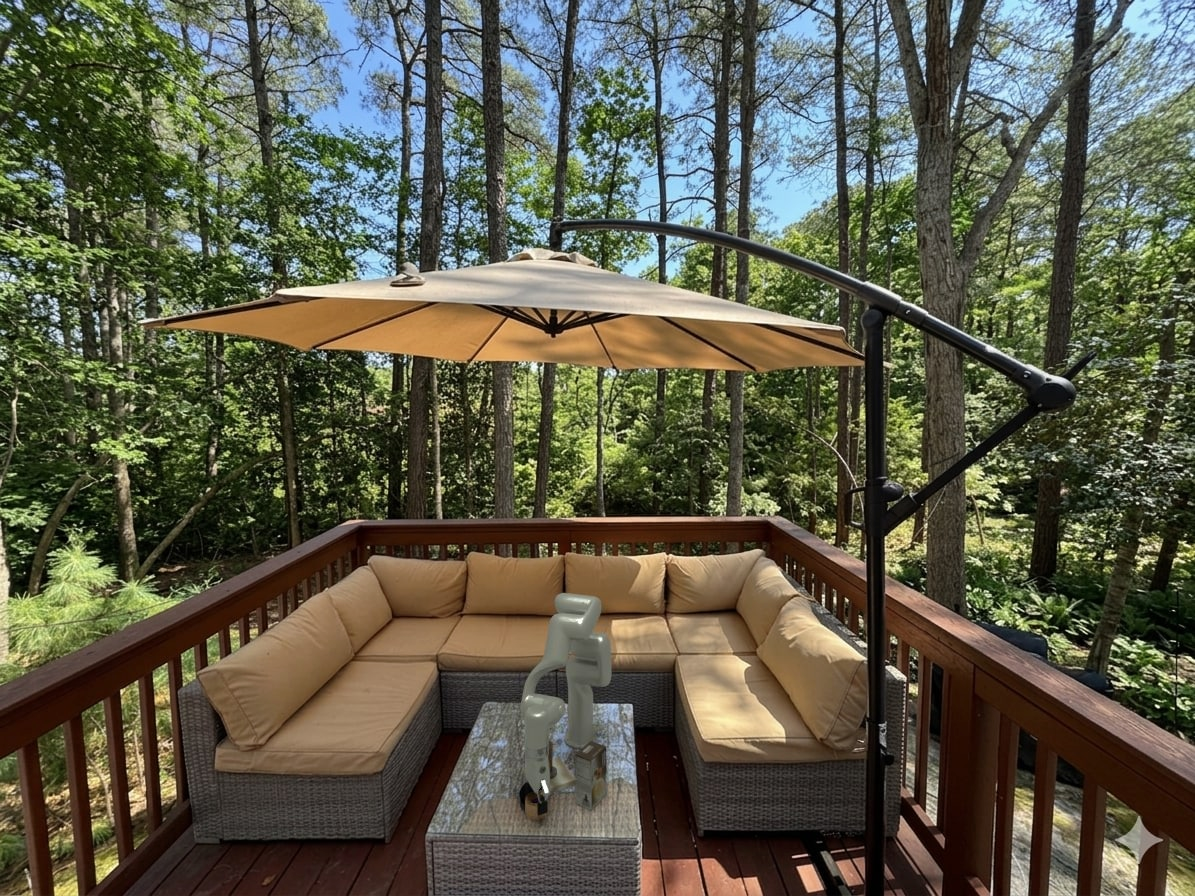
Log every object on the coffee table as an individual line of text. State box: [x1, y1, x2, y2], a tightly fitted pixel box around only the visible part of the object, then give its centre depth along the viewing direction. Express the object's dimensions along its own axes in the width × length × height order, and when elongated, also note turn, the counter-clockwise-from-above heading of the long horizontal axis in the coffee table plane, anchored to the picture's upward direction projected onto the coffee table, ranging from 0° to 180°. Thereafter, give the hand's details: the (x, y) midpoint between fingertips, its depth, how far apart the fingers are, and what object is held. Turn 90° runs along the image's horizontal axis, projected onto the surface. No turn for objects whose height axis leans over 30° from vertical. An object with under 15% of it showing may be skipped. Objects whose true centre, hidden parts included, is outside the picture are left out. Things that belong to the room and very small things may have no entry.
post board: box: [521, 739, 576, 795], centre depth 176 cm, size 14×14×13 cm
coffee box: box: [575, 741, 608, 811], centre depth 166 cm, size 9×6×16 cm
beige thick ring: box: [524, 791, 550, 820], centre depth 161 cm, size 7×7×4 cm
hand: (536, 803), depth 161 cm, fingers open, 9 cm apart
